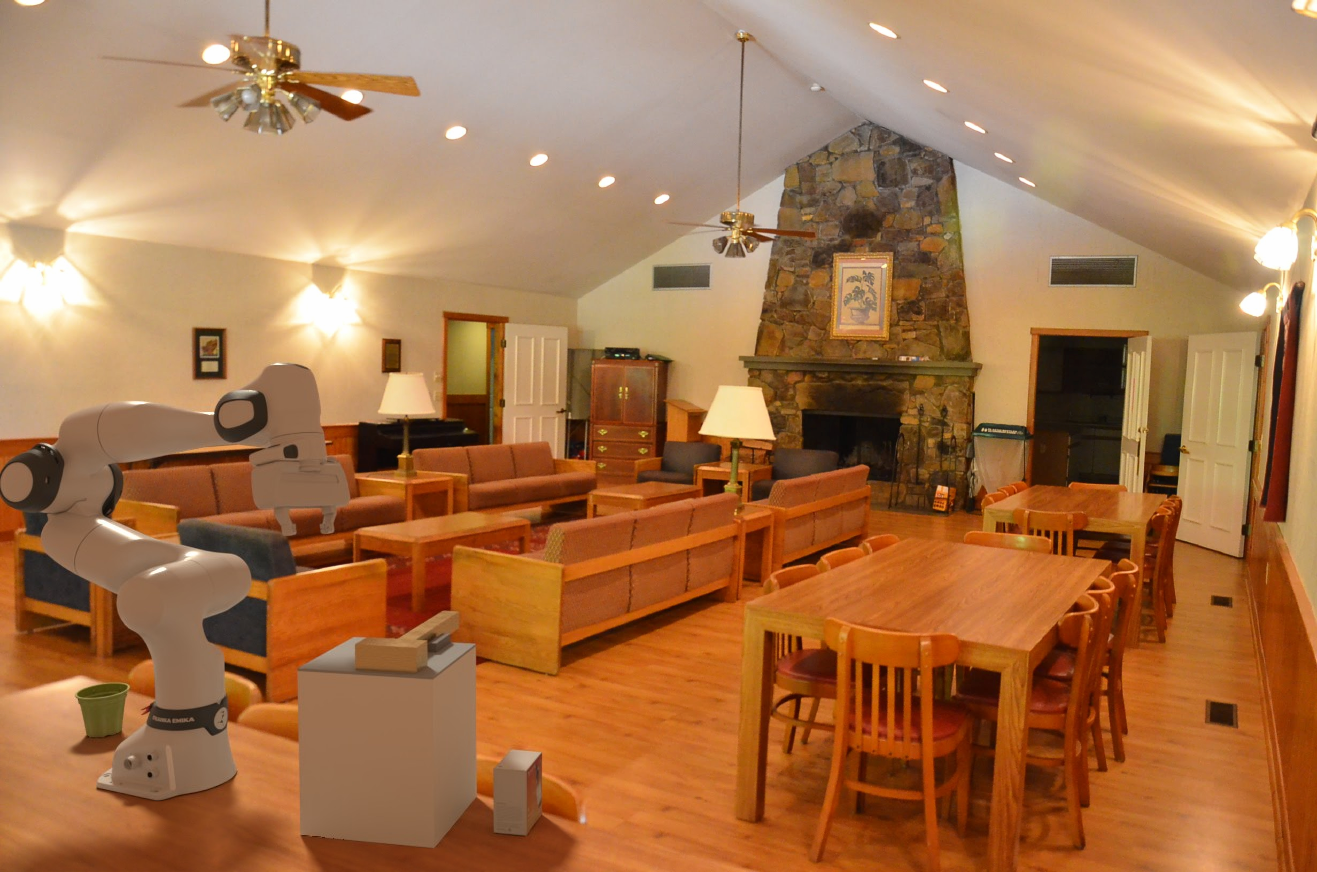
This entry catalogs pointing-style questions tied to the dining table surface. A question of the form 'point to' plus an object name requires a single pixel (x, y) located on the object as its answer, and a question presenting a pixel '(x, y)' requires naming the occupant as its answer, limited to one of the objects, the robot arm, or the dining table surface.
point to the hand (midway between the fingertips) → (309, 534)
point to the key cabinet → (387, 746)
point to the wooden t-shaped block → (404, 646)
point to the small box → (517, 792)
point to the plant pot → (103, 708)
